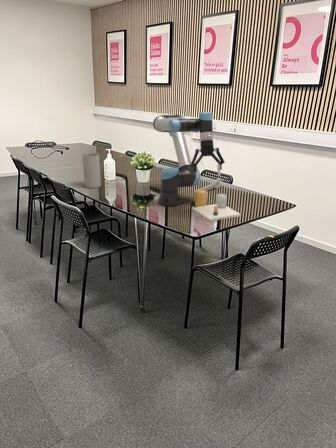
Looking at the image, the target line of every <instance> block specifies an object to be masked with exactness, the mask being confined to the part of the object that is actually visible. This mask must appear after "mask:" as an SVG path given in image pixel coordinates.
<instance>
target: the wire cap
mask: <svg viewBox="0 0 336 448" xmlns="http://www.w3.org/2000/svg"><path fill="white" fill-rule="evenodd" d="M195 190H196V194H194V196H195V200H194V201H195V202H194V207H200V206H206V205H207V200H208V199H207V195H208V193H207V191H208V190H206V191H205V190H198V189H195Z"/></svg>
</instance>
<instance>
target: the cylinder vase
mask: <svg viewBox="0 0 336 448" xmlns="http://www.w3.org/2000/svg"><path fill="white" fill-rule="evenodd" d="M81 158H82V169H83V179H84V187H85V188H87V189H98V188H100V187H101V186H102V180H101V179H102V178H101V166H100V165H101V164H100V163H101V162H100V153H96V152H94V153H93V152H86V153H82V155H81Z"/></svg>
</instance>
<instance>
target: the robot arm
mask: <svg viewBox="0 0 336 448" xmlns="http://www.w3.org/2000/svg"><path fill="white" fill-rule="evenodd" d="M213 124H214V123H213V114H212V112H210V111H205V112H204V111H203V112H199V114H198V118H186V117H185V116H184V115H182V114H161V115H158V116H156V117H155V118H154V119H153V122H152V126H153V129H154V130H155V131H156V132H159V133H168V134H169V137H171V138H172V141H173V146H174V149H175V154H176V157H177V162H178V167H168V168H165V169H163V170H161V172H160V184H161V185H160V194H159V197H158V205H161V206H162V207H163V206H164V207H177V206H179V205H181V201H182V200H181V197H180V193H179V188H188V187H190V188H192V187H195V186H198V184H199V183H200V181H201V180H200V179H201V173H200V169H199V165H198V164H199V163H200V162H201V160H202V159H203V158H204V157H211V158H212V159H213V160H214V161H215V162H216V163H217V165H216V166H217V167H216V168H217V177H220V176H221V171H222V170H223V169H222V168H223V164H224V163H225V160H224V158H223V156H222V154H221V152H220V148H219V147H216V148H215V147H214V131H213V130H214V129H213V128H214V127H213V126H214V125H213ZM188 132H189V133H190V132H191V133H193V132H194V133H198V132H199V141H200V143H199V145H200V148H199V149H198V148H195V152H194V155H193V157H192V160H191V156H190V152H189V148H188V145H187V140H186V137H185V136H186V135H185V133H188ZM214 152H215V153H216V155H215V153H214ZM199 153H200V155H199ZM198 156H199V157H198ZM197 157H198V158H197Z"/></svg>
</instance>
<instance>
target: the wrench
mask: <svg viewBox="0 0 336 448" xmlns="http://www.w3.org/2000/svg"><path fill="white" fill-rule="evenodd" d="M221 181H224V180H223V178H222V177H218V178H217V179H216V180H215V181H213V182H212V183H210V184H208V185H206V186H204V187H201V188H198V189H195V190H194V195H195V194H196V190H205V191H209V190H211V189H213V188H215V190H218V189H219V188H221V186H222V184H220V182H221Z"/></svg>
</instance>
